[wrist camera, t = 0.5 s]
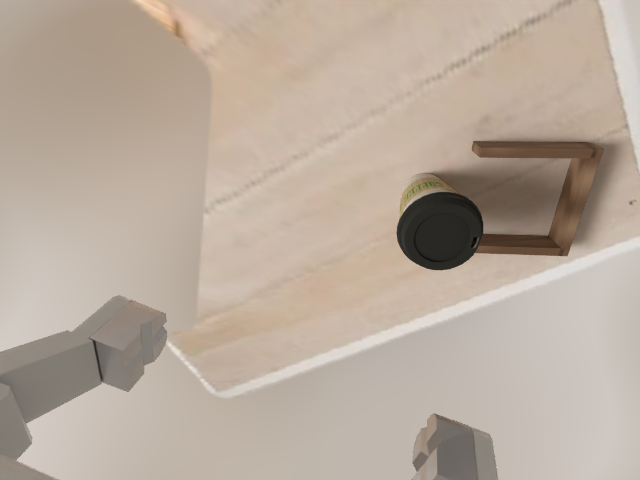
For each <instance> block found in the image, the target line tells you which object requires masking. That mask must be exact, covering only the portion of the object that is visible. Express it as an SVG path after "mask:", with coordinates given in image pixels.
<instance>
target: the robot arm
mask: <svg viewBox="0 0 640 480" xmlns="http://www.w3.org/2000/svg"><path fill="white" fill-rule="evenodd" d="M165 322H166V314H165V313H163V312H160V311H158V310H155V309H153V308H150V307H148V306H145V305H143V304H140V303H138V302H136V301H133V300H131V299H128V298H125V297H123V296H120V295H118V296H116V297H113V298H112V299H110V300H109V301H108V302H107V303H106V304H104V305H103V306H102V307H101V308H100V309H98V310H97V311H96V312H95V313H94V314H93V315H91V316H90V317H89V318H88V319H86V320H85V321H84V322H83V323H82V324H81V325H79V326H78V327H77V328H76V329H75V330H73V331H72V332H70V331H68V330H67V331H64V332H61V333H57V334H54V335H51V336H48V337H45V338H42V339H39V340H36V341H33V342H30V343H27V344H24V345H20V346H18V347H14V348H11V349H8V350H5V351H2V352H0V480H58V479H56V478H54V477H52V476H49V475H47V474H45V473H43V472H40V471H38V470H36V469H34V468H31V467H29V466H27V465H25V464H23V463H20V462H18V461H16V460H17V459H18V458H19V457H20V456H21V455H22V454H23V452H24V451H25V450H26V449H27V448H28V447H29V446H30V445H31V444H32V436H31V434H30V431H29V429H28V427H27V425H26V423H28V422H30V421H32V420H33V419H35V418H38V417H39V416H41V415H43V414H45V413H47V412H49V411H51V410H53V409H55V408H57V407H58V406H60V405H62V404H64V403H66V402H68V401H70V400H72V399H74V398H76V397H78V396H79V395H81V394H83V393H85V392H87V391H89V390H91V389H93V388H95V387H97V386H98V385H100V384H101V382H103V383H106V384H108V385H111V386H114V387H117V388H119V389H122V390H124V391H127V392H129V390H131V388H132V387H133V386H134V385H135V383H136V382H137V381H138V380H139V379H140V378H141V376H142V375H143V374H144V365H147V364H149V363H151V362H154V361H155V360H156V358H157V357H158V356H159V355H160V353H161V351H162V350H163V347H164V346H165V343H166V339H167V331H166V330H165V328H164V327H163V325H164V323H165ZM413 464H414V467H415V469H416V471H417V473H416V475H415V476H414V477H413V479H412V480H498V475H497V469H496V462H495V455H494V449H493V442H492V438H491V436H490V434H488V433H486V432H483V431H480V430H478V429H475V428H472V427H469V426H468V425H465V424H462V423H460V422H457V421H454V420H451V419H448V418H446V417H443V416H440V415H437V414H432V415H431V416H430V417H429V418H428V421H427V427H426V428H422V429H421V431H420V432H419V434H418V435H417V438H416V441H415V444H414V450H413Z"/></svg>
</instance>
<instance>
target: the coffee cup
mask: <svg viewBox="0 0 640 480" xmlns="http://www.w3.org/2000/svg"><path fill="white" fill-rule="evenodd" d="M482 235H483V220H482V216H481V213H480V211H479V210H478V208H477V206H476V205H475V204H474V203H473V202H472V201H471V200H469V199H468V198H466V197H464V196H462V195H460V194H459V193H457V192H456V191H455V190H454V189H452V188H451V187H450V186H449V185H447V184H446V183H445V182H443V181H442V180H440V179H439V178H437V177H436V176H434V175H432V174H428V173H422V174H417V175H415V176H413V177H411V178H410V179H409V180H408V181H407V182H406V183H405V185H404V187H403V190H402V197H401V203H400V219H399V223H398V226H397V239H398V243H399V246H400V248H401V249H402V251H403V252H404V254H405V255H406V256H407V257H408V258H409V259H410V260H411V261H413V262H415V263H416V264H418V265H420V266H422V267H425V268H427V269H432V270H447V269H451V268H454V267H457V266H459V265H461V264H463V263H464V262H466V261H467V260H469V259H470V258H471V257H472V256H473V255H474V253H475V252H476V250H477V249H478V246H479V244H480V241H481V239H482ZM476 242H477V244H476ZM475 244H476V246H475V248H473V247H474V245H475Z"/></svg>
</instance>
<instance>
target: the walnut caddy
mask: <svg viewBox="0 0 640 480" xmlns="http://www.w3.org/2000/svg"><path fill="white" fill-rule="evenodd" d="M603 150H604V149H603V148H600V147H598V146H595V145H593V144H590V143H588V142H480V141H473V146H472V151H473V152H474V153H475V154H477V155H478V156H479V157H488V158H572V160H571V163H570V166H569V170H568V173H567V176H566V179H565V183H564V186H563V189H562V193H561V196H560V199H559V203H558V206H557V209H556V212H555V216H554V219H553V222H552V226H551V229H550V232H549V236H530V235H496V234H483V235H482V239H481V241H480V244H479V246H478V249H477V250H476V252H475V253H491V254H521V255H550V256H568V253H569V250H570V247H571V244H572V241H573V238H574V235H575V232H576V229H577V227H578V224H579V221H580V218H581V215H582V212H583V209H584V206H585V203H586V200H587V197H588V194H589V191H590V188H591V185H592V182H593V179H594V176H595V174H596V171H597V168H598V165H599V162H600V159H601V156H602V153H603ZM476 244H477V242H476ZM476 244H475V245H474V247H473V248H475V246H476Z"/></svg>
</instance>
